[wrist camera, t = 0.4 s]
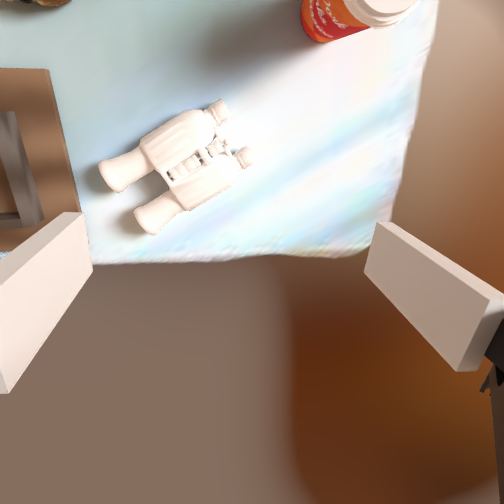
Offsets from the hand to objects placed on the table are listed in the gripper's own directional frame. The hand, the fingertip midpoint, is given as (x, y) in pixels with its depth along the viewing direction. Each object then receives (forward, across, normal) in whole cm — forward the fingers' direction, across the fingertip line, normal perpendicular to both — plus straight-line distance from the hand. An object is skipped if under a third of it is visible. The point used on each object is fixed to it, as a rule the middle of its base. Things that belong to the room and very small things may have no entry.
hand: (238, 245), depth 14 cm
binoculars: (+28, -4, -1) cm, 29 cm away
